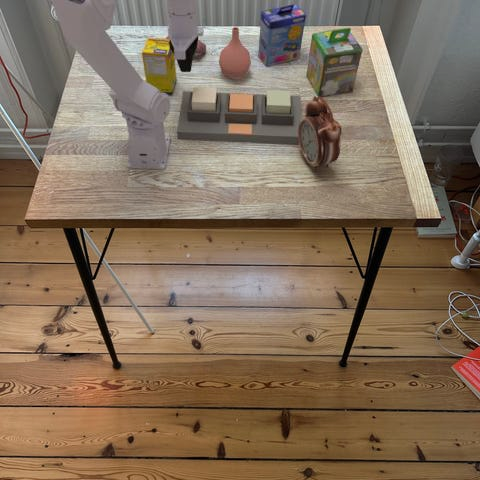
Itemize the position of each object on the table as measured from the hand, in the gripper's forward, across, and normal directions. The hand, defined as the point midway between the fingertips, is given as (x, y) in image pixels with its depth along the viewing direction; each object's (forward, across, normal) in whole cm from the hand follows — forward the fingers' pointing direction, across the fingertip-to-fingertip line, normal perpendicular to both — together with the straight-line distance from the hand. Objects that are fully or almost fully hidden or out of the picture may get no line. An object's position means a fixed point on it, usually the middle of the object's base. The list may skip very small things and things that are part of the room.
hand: (185, 70), depth 108 cm
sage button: (+7, -3, -20) cm, 21 cm away
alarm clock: (+11, -15, -28) cm, 33 cm away
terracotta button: (+8, -3, -12) cm, 15 cm away
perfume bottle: (+11, +14, -10) cm, 20 cm away
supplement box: (+11, +8, +7) cm, 15 cm away
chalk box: (+11, +12, -33) cm, 37 cm away
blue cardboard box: (+11, +22, -21) cm, 32 cm away
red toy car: (+11, +22, +3) cm, 25 cm away
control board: (+10, -3, -12) cm, 16 cm away
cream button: (+7, -3, -4) cm, 9 cm away
